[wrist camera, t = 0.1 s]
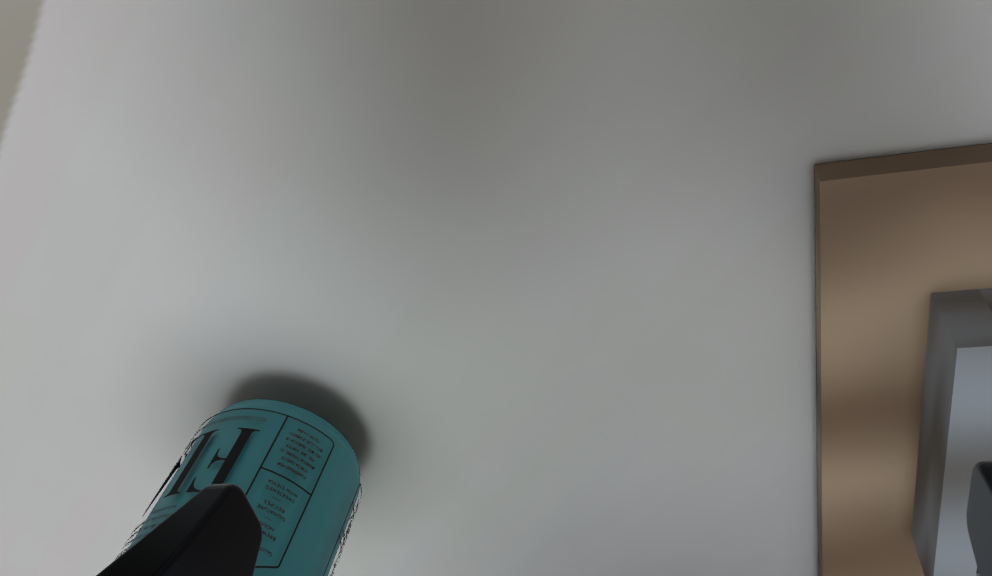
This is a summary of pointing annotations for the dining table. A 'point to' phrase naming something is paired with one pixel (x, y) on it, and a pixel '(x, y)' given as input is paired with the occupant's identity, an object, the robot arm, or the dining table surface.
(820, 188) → the duct collar
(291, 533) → the beverage bottle
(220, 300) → the dining table surface
